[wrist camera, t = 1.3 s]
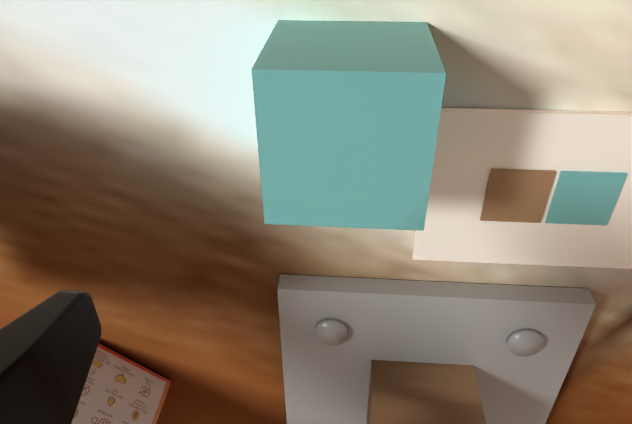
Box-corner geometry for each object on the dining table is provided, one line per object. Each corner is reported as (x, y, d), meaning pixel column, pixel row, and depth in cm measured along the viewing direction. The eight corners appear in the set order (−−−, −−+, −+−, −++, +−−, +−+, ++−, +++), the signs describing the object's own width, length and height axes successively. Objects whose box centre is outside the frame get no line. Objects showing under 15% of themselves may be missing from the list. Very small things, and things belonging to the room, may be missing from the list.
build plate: (291, 441, 32) (288, 461, 31) (280, 274, 24) (276, 293, 23) (519, 457, 31) (525, 478, 30) (588, 288, 23) (598, 309, 22)
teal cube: (285, 150, 20) (264, 223, 16) (278, 19, 17) (251, 69, 13) (411, 154, 20) (423, 230, 16) (426, 21, 17) (445, 72, 13)
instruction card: (412, 255, 22) (412, 261, 22) (431, 107, 18) (432, 111, 18) (646, 265, 22) (650, 271, 21) (718, 114, 18) (725, 118, 17)
